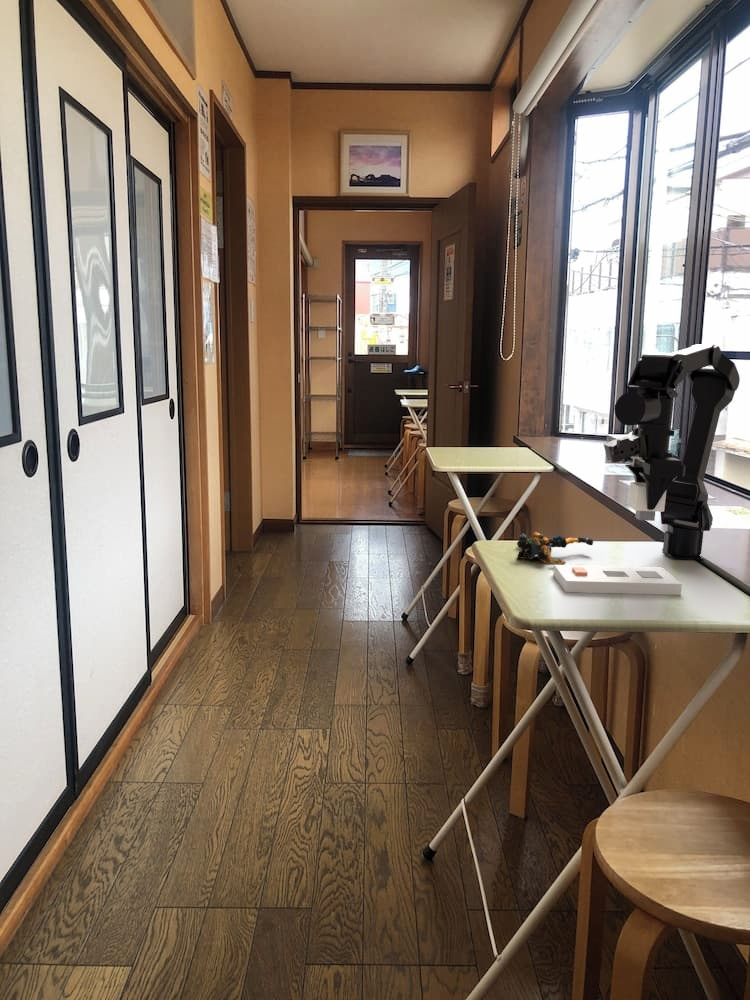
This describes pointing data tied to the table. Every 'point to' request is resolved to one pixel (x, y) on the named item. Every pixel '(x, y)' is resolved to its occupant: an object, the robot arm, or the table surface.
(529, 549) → the action figure
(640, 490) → the block
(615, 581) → the power strip
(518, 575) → the table surface
